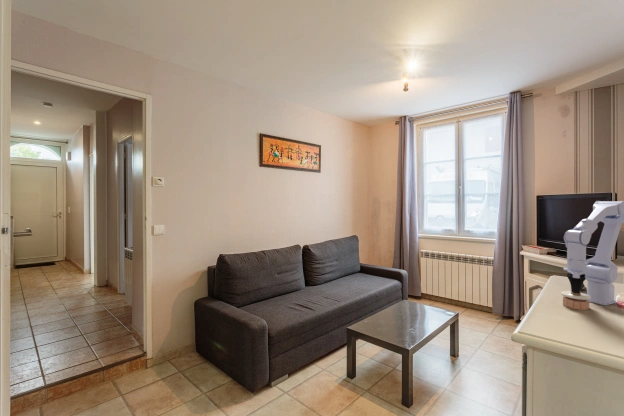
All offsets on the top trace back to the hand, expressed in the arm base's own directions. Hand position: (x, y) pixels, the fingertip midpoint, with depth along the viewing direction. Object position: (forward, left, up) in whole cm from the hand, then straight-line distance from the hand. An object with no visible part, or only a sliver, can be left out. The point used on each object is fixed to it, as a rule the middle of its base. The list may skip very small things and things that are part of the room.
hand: (575, 292), depth 120 cm
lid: (0, 0, -2) cm, 2 cm away
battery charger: (-29, -11, -6) cm, 32 cm away
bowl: (0, 0, -6) cm, 6 cm away
